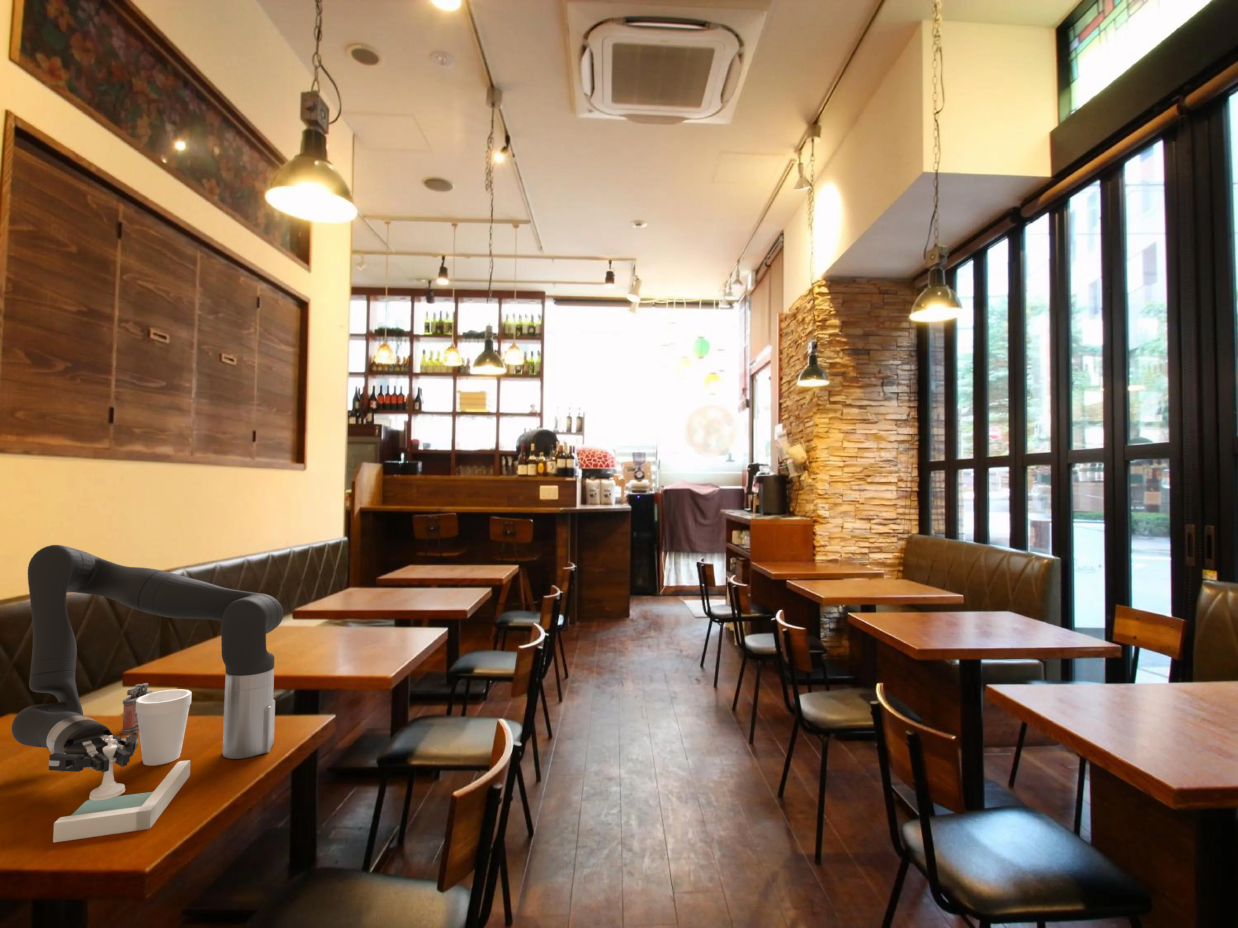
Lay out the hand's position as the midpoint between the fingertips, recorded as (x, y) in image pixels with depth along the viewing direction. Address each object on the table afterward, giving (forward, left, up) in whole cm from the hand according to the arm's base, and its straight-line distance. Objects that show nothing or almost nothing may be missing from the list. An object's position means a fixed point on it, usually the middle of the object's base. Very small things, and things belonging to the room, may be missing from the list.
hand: (116, 762), depth 108 cm
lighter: (+13, -48, -9) cm, 51 cm away
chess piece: (+2, -2, -6) cm, 7 cm away
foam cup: (+1, -25, -9) cm, 27 cm away
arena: (0, -4, -9) cm, 10 cm away
